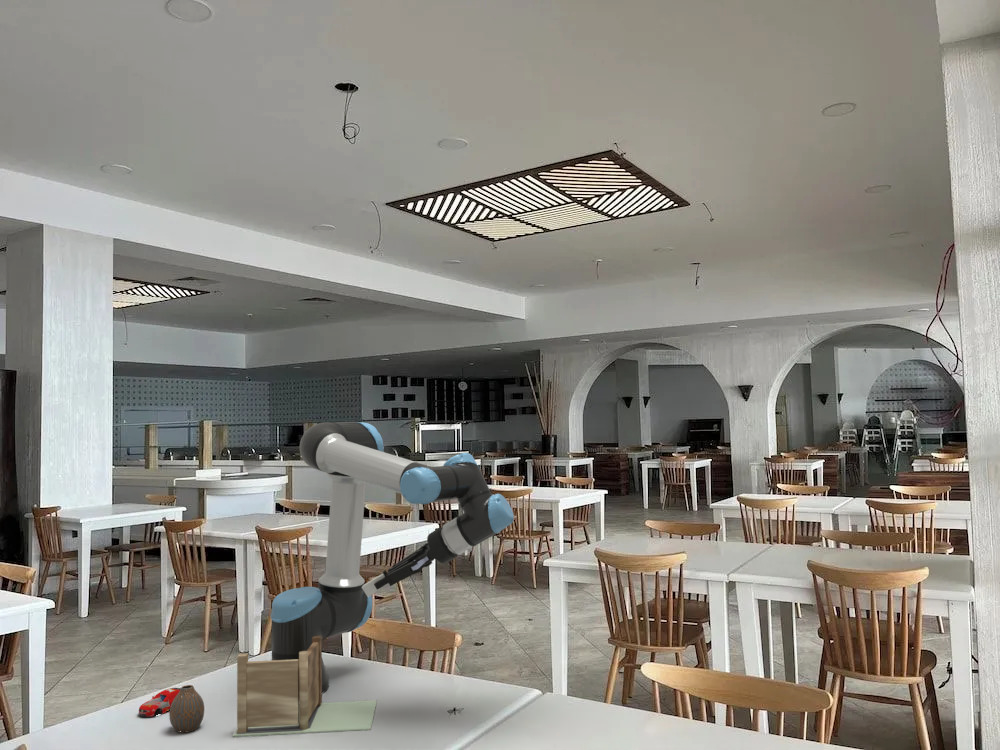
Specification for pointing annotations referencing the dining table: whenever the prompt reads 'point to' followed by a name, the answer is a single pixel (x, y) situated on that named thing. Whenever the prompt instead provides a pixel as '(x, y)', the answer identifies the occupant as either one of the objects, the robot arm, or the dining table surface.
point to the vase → (186, 709)
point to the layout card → (326, 720)
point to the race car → (159, 703)
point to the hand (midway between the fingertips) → (365, 591)
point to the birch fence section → (272, 692)
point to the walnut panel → (314, 674)
